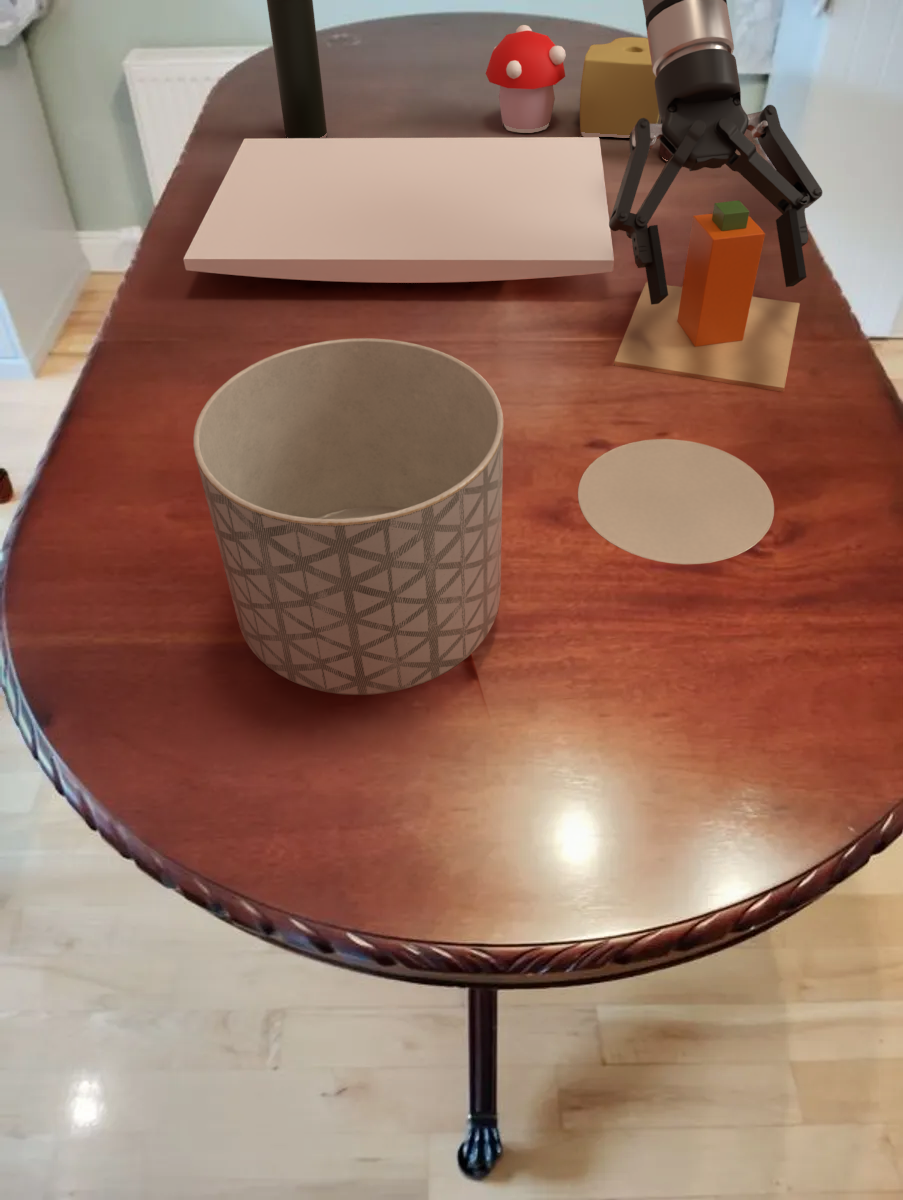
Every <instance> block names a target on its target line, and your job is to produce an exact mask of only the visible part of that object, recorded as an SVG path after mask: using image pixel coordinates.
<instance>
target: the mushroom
mask: <svg viewBox="0 0 903 1200" xmlns="http://www.w3.org/2000/svg"><path fill="white" fill-rule="evenodd" d="M566 57H567V55H566V50H565V49H564V47H563V46H561V45H556V44H555V43H554V42H553V40H552V39H551V37H549V36H548V35H546V34H543V33H539V32H536V31H533V30H532V28H531V27H530V26H529V25H527V24H522V25H519V26H518V27H517V28H516V30H515V32H512V33H508V34H506V35H505V36H504V37H503V39H501V41H500V42H499V43H498V44H497V45H496V46H494V48H493V50H492V52H491V55H490V58H489V62H488V65H487V68H486V71H485V76H486V78H487V80H488V82H489V83H490V84H493V85H494V84H495V85H497V86H500V88H499V93H498V102H499V109H500V115H501V123H502V124H503V123H504V124H505V125H506V126H509V127H512V128H516V129H535V128H540V127H543V126H545V125H547V124H548V123H549V122H550V123H551V121H552V116H553V110H554V105H555V101H556V96H555V89H554V86H555V85H558V83H560V82H561V81H562V80H563V79H565V77H566V71H565V66H564V61H565V59H566Z"/></svg>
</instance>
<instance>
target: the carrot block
mask: <svg viewBox="0 0 903 1200" xmlns="http://www.w3.org/2000/svg"><path fill="white" fill-rule="evenodd" d="M689 235H690V236H689V242H688V248H687V254H686V261H685V268H684V275H683V281H682V286H681V287H682V293H681V300H680V306H679V313H678V319H677V321H678V323H679V324H680V326H681V327H682V329H683V330H684V331H685V333H686V334H687V336H688V337H689V339H690V340H691V341H692V343H693V344H694V346H695V347H696V346H704V345H711V344H718V343H726V342H733V341H741V340H743V337H744V332H745V328H746V323H747V318H748V313H749V309H750V304H751V299H752V297H753V294H754V289H755V284H756V280H757V274H758V271H759V270H758V269H759V265H760V261H761V257H762V256H761V255H762V251H763V246H764V241H765V237H766V232H765V231H764V230H763V229H762V228H761V227H760V226H759V225H758V223H756V221H754V220H753V219H752V217H751V216H750V210H749V209H748V208H747V207H746V205H744V204H743V203H742V202H741V201H740V200H739V199H738V200H731V201H730V200H729V201H722V202H720V201H719V202H715V203H714V204H713V209H712V213H706V214H697V215H693V216H692V223H691V228H690V234H689Z"/></svg>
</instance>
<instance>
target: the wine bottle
mask: <svg viewBox="0 0 903 1200" xmlns="http://www.w3.org/2000/svg"><path fill="white" fill-rule="evenodd" d="M266 4H267V5H266V6H267V13H268V19H269V28H270V34H271V35H270V36H271V40H272V41H271V42H272V48H273V55H274V63H275V69H276V70H275V71H276V78H277V84H278V91H279V99H280V107H281V113H282V122H283V127H284V134H285V135H286V136H285V138H286V137H288V138H320V137H322V136H324V135H325V134H326V133H327V134H328V130H327V120H326V111H325V110H326V109H325V102H324V93H323V84H322V73H321V65H320V55H319V48H318V47H319V45H318V39H317V37H318V36H317V27H316V20H315V19H316V18H315V10H314V1H313V0H266Z"/></svg>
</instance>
